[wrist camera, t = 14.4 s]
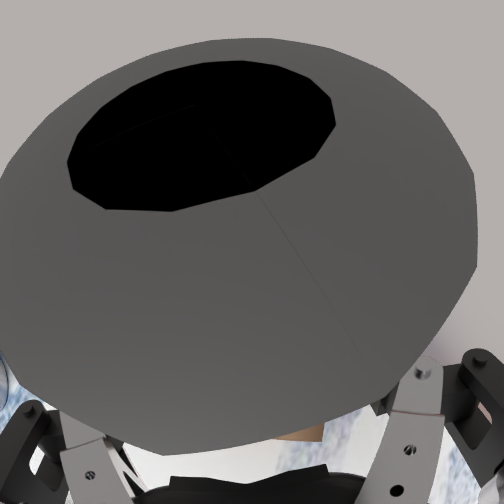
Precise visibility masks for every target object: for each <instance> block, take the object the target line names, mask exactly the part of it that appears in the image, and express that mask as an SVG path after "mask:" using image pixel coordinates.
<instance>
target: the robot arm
mask: <svg viewBox="0 0 504 504" xmlns="http://www.w3.org/2000/svg"><path fill="white" fill-rule="evenodd" d="M6 398H7V376H6V372H5V368H4V365H3V363H2V361H1V360H0V411H1V410H2V409H3V407H4V405H5V403H6ZM479 402H481V403H482V404H483V406H484V407H485V408H486V410H487V411H488V412H489V413H490V415H491V418H492V425H491V423H490V422H489V421H488V419H487V418H486V417H485V416H484V414H483V413H482V411H481V410H480V409H479V408H478V405H479ZM370 405H371V407H372V409H373V411H374V412H375V414H376V416H379V415H382V414H385V413H388V415H389V417H390V418H389V421H388V424H387V427H386V430H385V433H384V436H383V438H382V441H381V444H380V446H379V449H378V452H377V454H376V457H375V459H374V462H373V464H372V466H371V469H370V471H369V473H368V476H367V478H366V477H363V476H359V475H355V474H349V473H339V472H328V469H327V466H326V464H322V465H318V466H313V467H308V468H303V469H298V470H292V471H287V472H284V473H281V474H278V475H275V476H272V477H269V478H266V479H263V480H260V481H256V482H253V483H249V484H242V483H235V482H229V481H223V480H217V479H212V478H207V477H178V476H171V477H170V483H169V485H168V486H162V487H158V488H155V489H152V490H149V489H148V488H147V486H146V485H145V484H144V482H143V480H142V479H141V477H140V475H139V474H138V472H137V470H136V468H135V467H134V465H133V463H132V461H131V459H130V458H129V456H128V454H127V452H126V450H125V448H124V447H123V443H124V442H123V441H121V440H118V439H116V438H113V437H111V436H109V435H106V434H104V433H102V432H100V431H98V430H96V429H93V428H91V427H89V426H87V425H85V424H83V423H81V422H79V421H78V420H76V419H74V418H72V417H70V416H68V415H66V414H65V413H63V412H61V411H59V410H50V411H47V410H46V409H45V408H44V406H43V404H42V403H41V402H40V401H38V400H29V401H26V402H24V403H22V404H21V405H20V406H19V407H18V409H17V410H16V411H15V413H14V414H13V416H12V417H11V419H10V420H9V422H8V423H7V425H6V427H5V428H4V430H3V431H2V433H1V434H0V504H65V501H66V497H67V494H68V491H69V490H70V493H71V497H72V499H73V502H74V504H428V503H427V502H428V499H429V495H430V492H431V488H432V485H433V481H434V477H435V473H436V468H437V464H438V459H439V454H440V448H441V442H442V436H443V429H444V426H445V427H446V429H447V431H448V432H449V434H450V435H451V437H452V439H453V440H454V442H455V444H456V445H457V447H458V449H459V450H460V452H461V454H462V455H463V457H464V459H465V461H466V462H467V464H468V466H469V467H470V469H471V471H472V473H473V475H474V476H475V478H476V480H477V482H478V484H479V486H480V488H481V491H480V493H479V497H478V504H504V364H503V363H502V362H500V361H499V360H498V359H497V358H496V357H495V356H494V355H493V354H492V353H490V352H489V351H487V350H484V349H478V348H476V349H471V350H468V351H467V352H465V354H464V355H463V358H462V361H461V363H460V364H455V365H448V366H442V365H441V364H440V363H439V362H438V361H437V360H435V359H433V358H431V357H425V356H420V357H419V358H418V359H417V361H416V362H415V363H414V364H413V366H412V367H411V368H410V369H409V370H408V372H407V373H406V374H405V375H404V376H403V377H402V379H401V380H400V381H399V382H398V383H397V384H396V385H395V387H394V388H393V389H392V390H391V391H390V392H389V393H388V394H387V395H386V396H385V397H384V398H382V399H380V400H378V401H375V402H373V403H371V404H370ZM37 446H38V447H39V448H40V449H41V450H42V451H43V452H44V453H45V455H44V457H43V459H42V461H41V464H40V466H39V468H38V470H37V473H36V475H34V474H33V473H32V472H31V470H30V466H29V462H30V459H31V457H32V455H33V453H34V451H35V449H36V447H37Z"/></svg>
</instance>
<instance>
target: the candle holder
mask: <svg viewBox="0 0 504 504" xmlns="http://www.w3.org/2000/svg"><path fill="white" fill-rule="evenodd" d="M477 228H478V227H477V204H476V192H475V182H474V174H473V172H472V169H471V168H470V166H469V164H468V162H467V160H466V158H465V156H464V155H463V153H462V151H461V149H460V148H459V146H458V144H457V143H456V141H455V139H454V138H453V136H452V134H451V133H450V131H449V130H448V128H447V126H446V125H445V123H444V122H443V120H442V119H441V117H440V116H439V115H438V113H437V112H436V111H435V110H434V109H433V108H432V107H430V105H428V104H427V103H426V102H425V101H424V100H422V99H421V98H420V97H419V96H417V95H416V94H415V93H414V92H412V91H411V90H410V89H409V88H408V87H406V86H405V85H404V84H402V83H401V82H400V81H398V80H397V79H396V78H394V77H393V76H391V75H390V74H389V73H387V72H385V71H383V70H381V69H379V68H377V67H375V66H373V65H370V64H368V63H366V62H363V61H361V60H359V59H356V58H354V57H351V56H349V55H346V54H343V53H341V52H338V51H335V50H333V49H330V48H326V47H321V46H316V45H311V44H305V43H300V42H294V41H287V40H280V39H272V38H241V39H223V40H210V41H205V42H200V43H194V44H190V45H185V46H181V47H177V48H173V49H169V50H165V51H161V52H158V53H154V54H151V55H149V56H146V57H144V58H141V59H139V60H136V61H134V62H132V63H129V64H127V65H125V66H123V67H121V68H118V69H116V70H114V71H112V72H111V73H108V74H106V75H104V76H102V77H100V78H99V79H97V80H95V81H94V82H92V83H91V84H89V85H88V86H86V87H85V88H84V89H82V90H80V91H79V92H78V93H76V94H75V95H74V96H72V97H71V98H69V99H68V100H67V101H66V102H64V103H63V104H62V105H60V106H59V107H58V108H57V109H55V110H54V111H53V112H52V113H51V114H49V115H48V116H47V117H46V118H45V119H44V120H43V122H42V123H41V124H40V125H39V126H38V127H37V128H36V129H35V130H34V132H33V133H32V134H31V135H30V136H29V137H28V139H27V140H26V141H25V142H24V143H23V145H22V146H21V147H20V148H19V150H18V151H17V152H16V154H15V155H14V156H13V157H12V159H11V160H10V161H9V163H8V165H7V166H6V168H5V170H4V172H3V175H2V176H1V178H0V350H1V352H2V354H3V356H4V358H5V360H6V362H7V363H8V365H9V367H10V369H11V371H12V372H13V374H14V376H15V377H16V379H17V381H18V382H19V384H20V385H21V386H22V387H24V388H25V389H27V390H28V391H29V392H31V393H32V394H34V395H35V396H37V397H38V398H40V399H41V400H43V401H45V402H46V403H48V404H49V405H51V406H53V407H54V408H56V409H58V410H59V411H61V412H63V413H65V414H66V415H68V416H70V417H72V418H74V419H76V420H78V421H79V422H81V423H83V424H85V425H87V426H89V427H91V428H93V429H96V430H98V431H100V432H102V433H104V434H106V435H109V436H111V437H113V438H116V439H118V440H121V441H123V442H126V443H128V444H131V445H133V446H136V447H139V448H141V449H144V450H147V451H150V452H153V453H156V454H159V455H163V456H165V455H179V454H189V453H198V452H206V451H213V450H220V449H226V448H231V447H237V446H242V445H247V444H251V443H256V442H260V441H264V440H268V439H272V438H276V437H280V436H284V435H287V434H291V433H294V432H297V431H300V430H304V429H307V428H310V427H313V426H316V425H319V424H322V423H324V422H327V421H330V420H333V419H335V418H338V417H340V416H343V415H345V414H348V413H350V412H353V411H355V410H358V409H360V408H362V407H364V406H367V405H369V404H371V403H373V402H375V401H378V400H380V399H382V398H384V397H385V396H386V395H387V394H388V393H389V392H390V391H391V390H392V389H393V388H394V387H395V385H396V384H397V383H398V382H399V381H400V380H401V379H402V377H403V376H404V375H405V374H406V373H407V372H408V370H409V369H410V368H411V367H412V366H413V364H414V363H415V362H416V361H417V359H418V358H419V357H420V355H421V354H422V353H423V352H424V350H425V349H426V348H427V346H428V345H429V344H430V342H431V341H432V339H433V338H434V336H435V335H436V334H437V332H438V331H439V329H440V328H441V327H442V325H443V324H444V322H445V321H446V319H447V318H448V316H449V315H450V313H451V311H452V310H453V308H454V307H455V305H456V303H457V302H458V300H459V298H460V297H461V295H462V293H463V291H464V290H465V288H466V286H467V284H468V282H469V281H470V279H471V277H472V275H473V273H474V271H475V269H476V267H477V245H478V244H477V243H478V241H477V240H478V239H477V238H478V234H477V233H478V229H477Z"/></svg>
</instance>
